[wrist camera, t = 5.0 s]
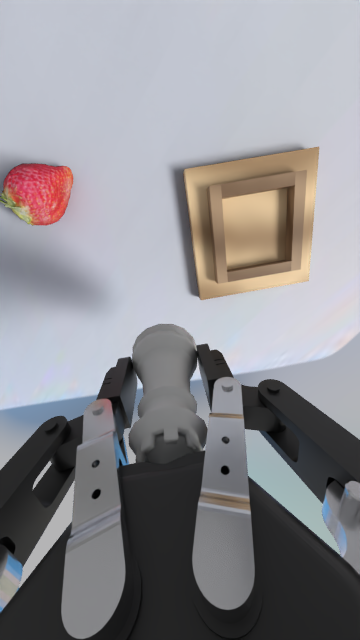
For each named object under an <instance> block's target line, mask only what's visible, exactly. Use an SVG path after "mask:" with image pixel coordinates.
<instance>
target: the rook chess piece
mask: <svg viewBox="0 0 360 640" xmlns="http://www.w3.org/2000/svg"><path fill="white" fill-rule="evenodd" d="M196 350H197V348H196V344H195V342H194V339H193V337H192V336H191V335H190V334H189V333H188V332H187V331H186V330H185V329H184V328H181V327H178V326H176V325H173V324H158V325H155V326H152V327H150V328H147V329H146V330H144V331H143V332H142V333H141V334H140V335H139V336H138V337H137V339H136V341H135V343H134V346H133V354H132V362H133V369H134V371H135V373H136V374H137V376H138V378H139V379H140V381H141V382H142V384H143V393H144V394H143V397H142V399H141V401H140V403H139V405H138V416H139V417H140V419H139V420H138V421H137V422H136V423H134V425H133V427H132V429H131V431H130V433H129V446H130V448H131V449H132V450H133V452H134V453H135V455H136V463H139V462H147V463H157V464H166V463H169V462H171V461H173V460H175V459H177V458H179V457H182V456H184V455H186V454H189V453H194V452H199V451H203V448H204V446H205V445H206V440H207V430H208V429H207V427H206V424H205V422H204V420H202V419H201V418H200V417H199V416H197V415H196V410H197V403H196V401H195V399H194V396H193V395H192V394H191V393H190V379H191V377H192V375H193V373H194V371H195V370H196V367H197V358H198V354H197V351H196Z"/></svg>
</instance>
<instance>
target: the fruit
mask: <svg viewBox="0 0 360 640" xmlns="http://www.w3.org/2000/svg"><path fill="white" fill-rule="evenodd" d="M72 184H73V175H72V172H71V170H70V168H68V167H66V166H57V167H53V166H48V165H46V164H35V163H34V164H21V165H18V166H17V167H14V168H13V169H12V170H11V171H10V172H9V173H8V175H7V176H6V178H5V180H4V184H3V186H4V190H3V191H2V192H3V193H0V194H1V195H2V197H1V196H0V197H1V198H2V199H4V200H5V201H6V202H7V203H6V202H4V201H2V200H0V202H1V203H4V204H6V205H4V206H6V207H8V208H11V209H12V210H13V212H14V213H15V214H16V215H17V216H19V218H20V219H22V220H25V221H26V223H27V224H29V223H30V224H31V225H49V224H52V223H55V222H57V221H58V220H59V219H60V218H61V217H62V216H63V215H64V213H65V210H66V207H67V205H68V200H69V198H70V190H71V188H72Z"/></svg>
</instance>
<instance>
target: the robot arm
mask: <svg viewBox="0 0 360 640" xmlns="http://www.w3.org/2000/svg"><path fill="white" fill-rule="evenodd" d="M196 348H197V354H198V363H199V369H200V374H201V377H202V381H203V385H204V388H205V392H206V395H207V399H208V403H209V406H210V410H211V413H210V414H209V421H208V430H207V440H206V450H205V451H199V452H194V453H189V454H186V455H184V456H182V457H179V458H177V459H175V460H173V461H171V462H169V463H166V464H157V463H147V462H139V463H134V464H129V461H128V456H127V450H126V445H125V439H124V436H123V434H124V429H126V428H130V427H131V423H132V415H133V409H134V403H135V396H136V390H137V377H136V373H135V371H134V369H133V363H132V359H131V357H126V358H120V359H118V362H117V365H116V367H113V368H111V369H110V370H109V371H108V372H107V373H106V376H105V378H104V381H103V385H102V386H101V389H100V392H99V394H98V397H97V400H96V401H94V402H92V403H91V404H90V405H88V407H87V408H86V409H85V411H84V415H82V416H80V417H78V418H75V419H73V420H70V421H67V419H66V418H65V417H64V416H57V417H54V418H51V419H49V420H48V421H46V422H44V423H43V424H42V425H41V426H40V427H39V428H38V429H37V430H36V432H35V433H34V434H33V435H32V436H31V437H30V438H29V439H28V440H27V442H26V443H25V444H24V445H23V446H22V447H21V448H20V449H19V450H18V451H17V452H16V454H15V455H14V456H13V457H12V458H11V459H10V460H9V461H8V462H7V464H6V465H5V466H4V467H3V468H2V469H1V470H0V640H360V440H359V439H358V438H356V437H355V436H354V435H352V434H351V433H350V432H348V431H347V430H346V429H344V428H343V427H342V426H340V425H339V424H338V423H336V422H335V421H334V420H332V419H331V418H329V417H328V416H327V415H326V414H324V413H323V412H322V411H320V410H319V409H317V408H316V407H315V406H313V405H312V404H311V403H309V402H308V401H307V400H305V399H304V398H302V397H301V396H300V395H298V394H297V393H296V392H295V391H293V390H292V389H291V388H289V387H288V386H287V385H285V384H284V383H282V382H280V381H278V380H271V379H269V380H264V381H262V382H260V383H259V385H258V387H249V386H244V385H241V384H240V382H239V381H238V380H237V379H235V378H234V377H233V375H232V373H231V371H230V369H229V367H228V365H227V363H226V361H225V359H224V357H223V355H222V353H221V352H219V351H218V350H211V351H210V349H209V346H208V344H202V345H196ZM245 429H251V430H259V431H260V433H261V434H262V435H263V436H264V437H265V438H266V440H267V441H268V442H269V443H270V444H271V445H272V447H273V448H274V449H275V450H276V451H277V452H278V453H279V454H280V456H281V457H282V458H283V459H284V460H285V461H286V462H287V464H288V465H289V466H290V467H291V468H292V469H293V470H294V472H295V473H296V474H297V475H298V476H299V477H300V478H301V480H302V481H303V482H304V483H305V484H306V485H307V486H308V488H309V489H310V490H311V491H312V492H313V493H314V494H315V495H316V496H317V498H318V499H319V500H320V501H321V502H322V504H323V506H322V516H323V519H324V522H325V524H326V526H327V528H328V529H329V531H330V532H331V534H332V535H333V536H334V538H335V540H336V542H337V544H338V547H339V550H340V553H341V556H340V555H339V554H338V553H337V552H336V551H334V550H333V549H332V548H331V547H330V546H329V545H327V544H326V543H325V542H324V541H323V540H322V539H320V538H319V537H318V536H317V535H316V534H315V533H314V532H312V531H311V530H310V529H309V528H308V527H307V526H305V525H304V524H303V523H302V522H301V521H300V520H298V519H297V518H296V517H295V516H294V515H293V514H292V513H290V512H289V511H288V510H287V509H286V508H285V507H283V506H282V505H281V504H280V503H279V502H278V501H276V500H275V499H274V498H273V497H272V496H271V495H270V494H268V493H267V492H266V491H265V490H264V489H263V488H261V487H260V486H259V485H258V484H257V483H256V482H255V481H253V480H252V479H251V478H250V477H249V476H248V472H247V471H248V470H247V456H246V444H245ZM49 461H51V463H52V465H51V466H50V467H49V469H48V470H47V471H46V473H45V474H44V476H43V477H42V478H41V480H40V481H39V482H38V484H37V485H36V487H35V488H34V489H32V488H33V484H34V482H35V480H36V478H37V477H38V475H39V474H40V472H41V471H42V470H43V469H44V467H45V466H46V465H47V463H48V462H49ZM74 480H75V486H74V501H73V502H74V503H73V516H72V522H71V523H70V525H69V526H68V527H67V528H66V530H65V531H64V532H63V534H62V535H61V536H60V537H59V539H58V540H57V541H56V542H55V544H54V545H53V546H52V548H51V549H50V550H49V551H48V553H47V554H46V555H45V556H44V558H43V559H42V560H41V562H40V563H39V564H38V565H37V567H36V568H35V569H34V570H33V572H32V573H31V574H30V576H29V577H28V578H27V579H26V581H25V582H24V583H23V584H22V586H21V587H20V588H19V584H20V581H21V577H22V571H23V570H22V568H23V566H24V564H25V563H26V561H27V559H28V558H29V556H30V554H31V552H32V551H33V549H34V548H35V546H36V544H37V542H38V541H39V539H40V537H41V536H42V534H43V532H44V530H45V529H46V527H47V525H48V524H49V522H50V520H51V519H52V517H53V515H54V514H55V512H56V510H57V508H58V507H59V505H60V503H61V502H62V500H63V498H64V497H65V495H66V493H67V492H68V490H69V488H70V486H71V485H72V483H73V481H74Z"/></svg>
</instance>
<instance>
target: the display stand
mask: <svg viewBox="0 0 360 640" xmlns="http://www.w3.org/2000/svg"><path fill="white" fill-rule="evenodd" d="M318 157H319V147H314V148H308V149H302V150H296V151H290V152H284V153H278V154H272V155H266V156H260V157H254V158H248V159H242V160H236V161H230V162H224V163H218V164H212V165H206V166H200V167H194V168H188V169H184V172H183V175H184V183H185V190H186V198H187V206H188V214H189V222H190V230H191V237H192V245H193V253H194V261H195V269H196V277H197V285H198V292H199V298H200V299H201V300H204V299H210V298H216V297H221V296H227V295H233V294H238V293H244V292H249V291H255V290H261V289H266V288H272V287H278V286H283V285H289V284H295V283H300V282H306V281H309V270H310V257H311V245H312V232H313V220H314V207H315V194H316V182H317V169H318Z"/></svg>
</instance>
